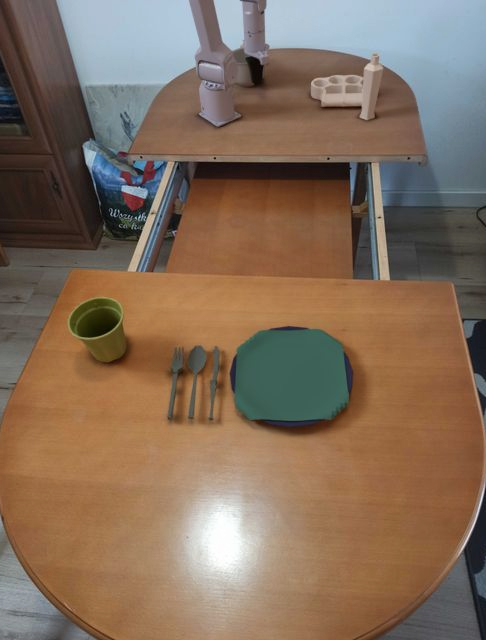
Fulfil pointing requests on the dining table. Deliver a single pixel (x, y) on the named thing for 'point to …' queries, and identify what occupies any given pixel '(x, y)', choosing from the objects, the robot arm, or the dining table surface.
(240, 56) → the teacup
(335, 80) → the white multi-hole holder
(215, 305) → the dining table surface
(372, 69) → the perfume bottle
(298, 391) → the cutlery set
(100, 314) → the plant pot
